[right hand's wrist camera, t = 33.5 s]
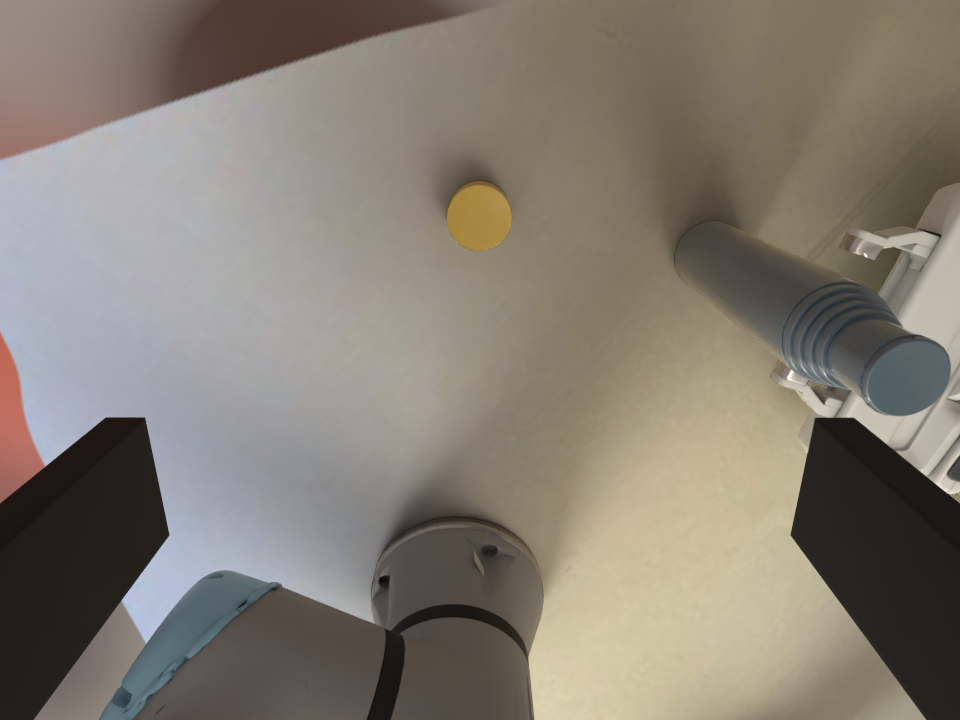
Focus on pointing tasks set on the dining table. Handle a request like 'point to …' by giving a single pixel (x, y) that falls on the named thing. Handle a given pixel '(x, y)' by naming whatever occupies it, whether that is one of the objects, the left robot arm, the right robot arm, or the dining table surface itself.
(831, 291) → the bottle
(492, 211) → the cap
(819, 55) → the dining table surface
